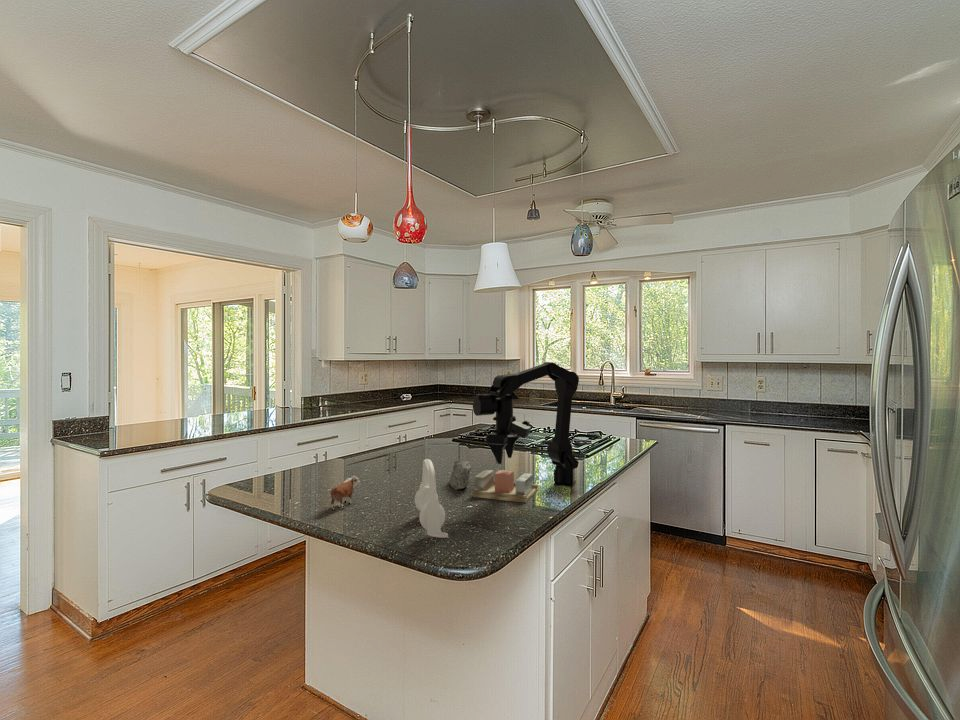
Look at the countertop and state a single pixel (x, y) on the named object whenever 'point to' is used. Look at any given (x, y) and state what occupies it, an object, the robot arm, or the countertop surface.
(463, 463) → the rock
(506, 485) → the block
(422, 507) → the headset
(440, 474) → the countertop surface
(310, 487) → the countertop surface
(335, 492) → the bull figurine
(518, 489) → the jaw
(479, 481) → the vise base
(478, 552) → the countertop surface
